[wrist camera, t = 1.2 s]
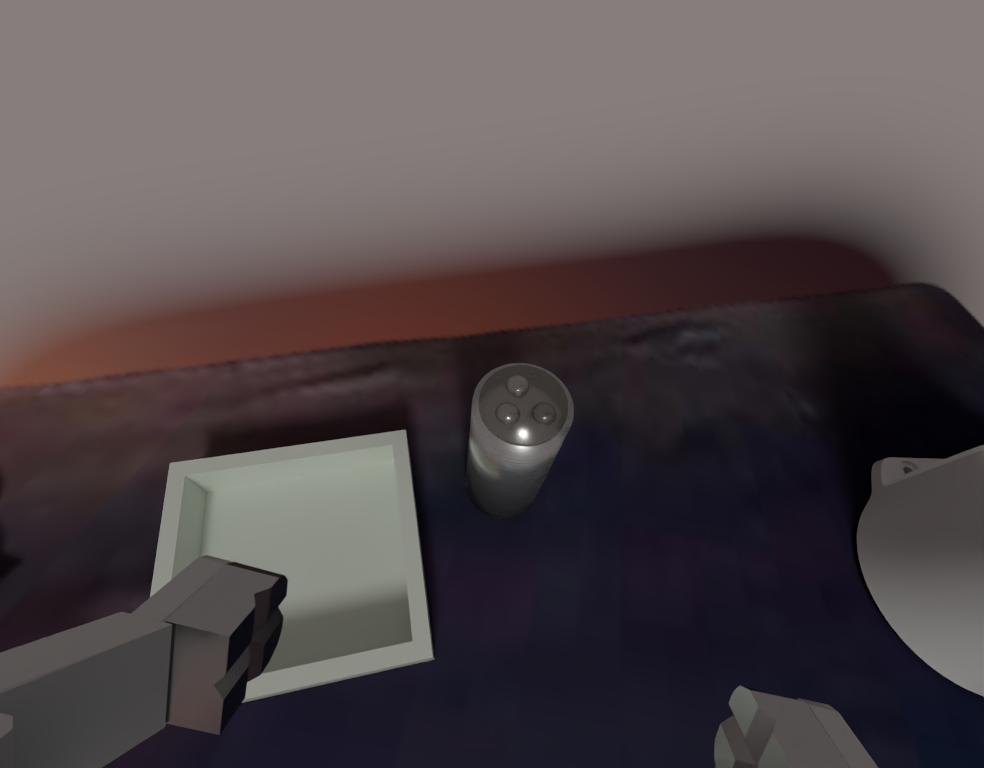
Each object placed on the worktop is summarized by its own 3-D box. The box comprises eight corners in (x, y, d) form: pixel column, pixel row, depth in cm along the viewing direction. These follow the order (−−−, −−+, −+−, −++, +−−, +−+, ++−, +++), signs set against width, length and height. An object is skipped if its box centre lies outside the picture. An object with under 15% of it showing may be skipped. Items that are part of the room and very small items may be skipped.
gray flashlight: (528, 443, 38) (561, 349, 27) (546, 511, 35) (590, 437, 24) (459, 454, 37) (464, 361, 26) (472, 524, 34) (483, 454, 23)
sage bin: (409, 452, 37) (405, 429, 33) (434, 659, 30) (433, 657, 26) (197, 484, 34) (169, 463, 31) (170, 718, 27) (130, 725, 24)
